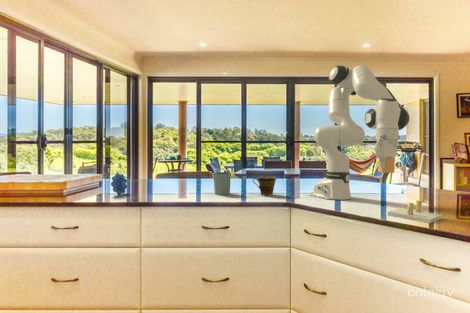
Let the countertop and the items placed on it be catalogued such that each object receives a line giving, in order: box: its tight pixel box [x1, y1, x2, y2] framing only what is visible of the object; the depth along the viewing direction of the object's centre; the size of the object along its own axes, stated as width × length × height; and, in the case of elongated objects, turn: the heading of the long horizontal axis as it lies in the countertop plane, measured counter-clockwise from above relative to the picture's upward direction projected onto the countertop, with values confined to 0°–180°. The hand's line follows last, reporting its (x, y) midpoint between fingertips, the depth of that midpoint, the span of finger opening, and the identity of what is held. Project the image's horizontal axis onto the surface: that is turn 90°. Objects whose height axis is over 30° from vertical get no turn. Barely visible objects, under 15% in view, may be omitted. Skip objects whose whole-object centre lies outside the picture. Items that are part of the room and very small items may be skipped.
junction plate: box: [387, 200, 443, 224], centre depth 129 cm, size 16×12×6 cm
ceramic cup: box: [252, 175, 277, 197], centre depth 178 cm, size 13×10×10 cm
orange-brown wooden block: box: [377, 157, 396, 174], centre depth 137 cm, size 5×5×6 cm
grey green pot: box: [212, 171, 232, 196], centre depth 180 cm, size 10×10×12 cm
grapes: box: [110, 172, 128, 196], centre depth 174 cm, size 12×7×12 cm, turn 157°
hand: (385, 167), depth 137 cm, fingers closed on orange-brown wooden block, 7 cm apart
